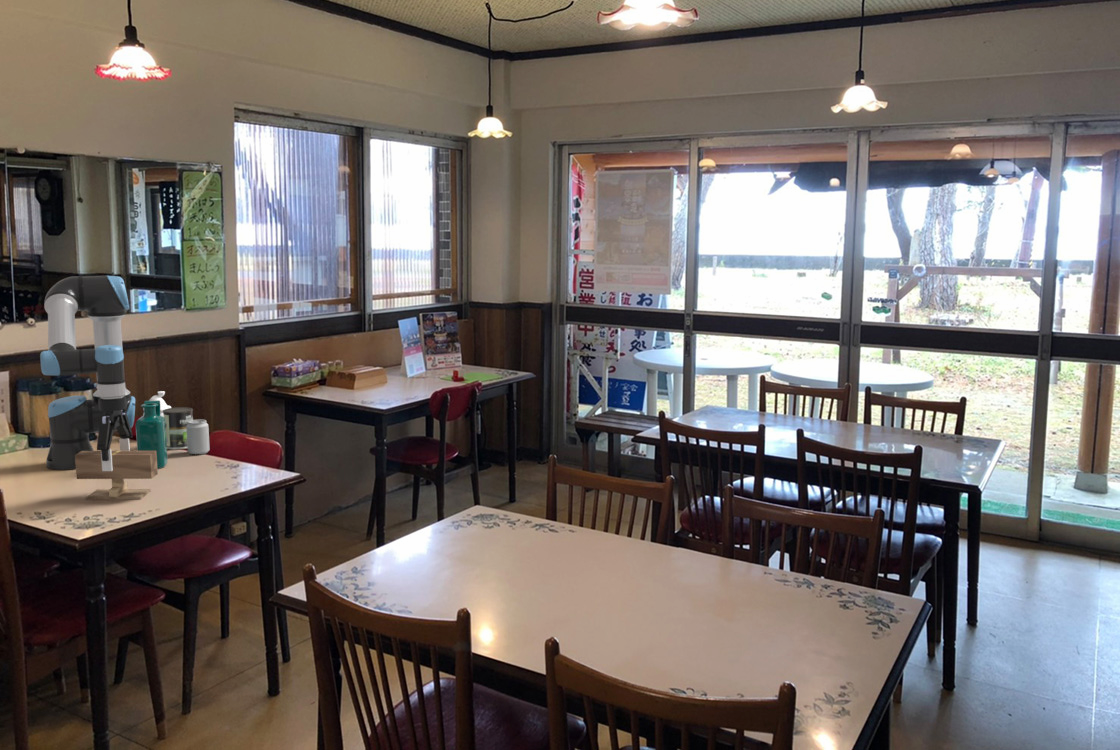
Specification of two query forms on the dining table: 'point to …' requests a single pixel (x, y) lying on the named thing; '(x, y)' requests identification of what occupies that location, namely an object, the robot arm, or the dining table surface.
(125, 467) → the beam
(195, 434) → the can
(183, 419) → the coffee can
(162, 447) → the green bottle
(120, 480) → the fulcrum
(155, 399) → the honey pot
